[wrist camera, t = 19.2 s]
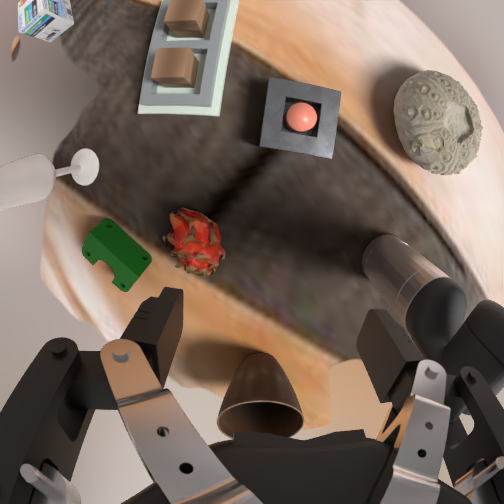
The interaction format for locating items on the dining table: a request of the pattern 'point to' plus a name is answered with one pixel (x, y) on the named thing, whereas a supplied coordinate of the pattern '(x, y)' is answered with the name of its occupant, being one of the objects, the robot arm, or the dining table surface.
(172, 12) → the walnut billet
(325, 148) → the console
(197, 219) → the dragon fruit
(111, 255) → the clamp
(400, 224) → the dining table surface
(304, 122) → the button
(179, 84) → the block
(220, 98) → the gray compartment tray
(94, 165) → the champagne flute
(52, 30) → the light bulb box
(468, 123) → the decorative shell
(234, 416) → the plant pot
